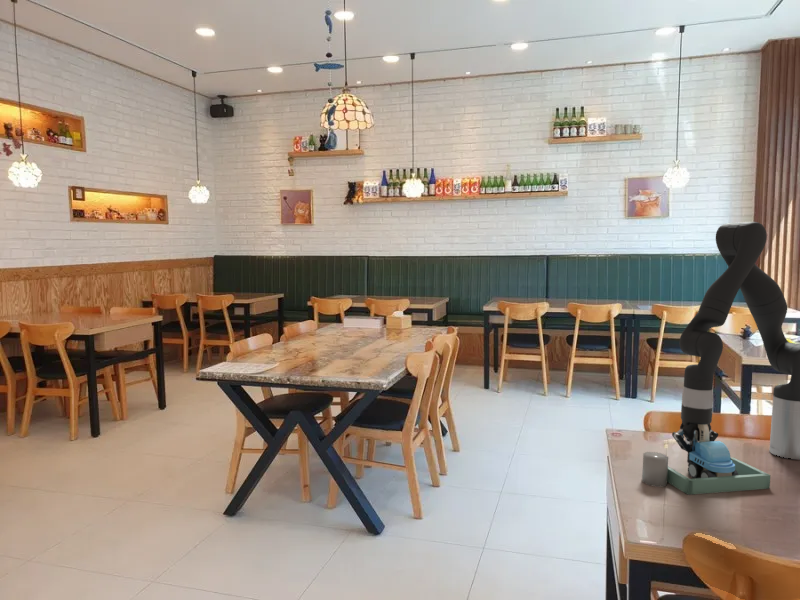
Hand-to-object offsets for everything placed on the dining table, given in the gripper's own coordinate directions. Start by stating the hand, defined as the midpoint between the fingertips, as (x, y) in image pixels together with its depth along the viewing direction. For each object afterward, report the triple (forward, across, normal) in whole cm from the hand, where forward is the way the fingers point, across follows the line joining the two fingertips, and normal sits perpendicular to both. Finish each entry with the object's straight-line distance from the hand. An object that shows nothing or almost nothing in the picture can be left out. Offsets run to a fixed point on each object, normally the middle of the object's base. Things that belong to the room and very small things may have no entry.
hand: (693, 465), depth 161 cm
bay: (+2, 0, +7) cm, 7 cm away
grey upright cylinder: (+2, +15, +5) cm, 16 cm away
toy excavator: (+2, -1, +4) cm, 4 cm away
